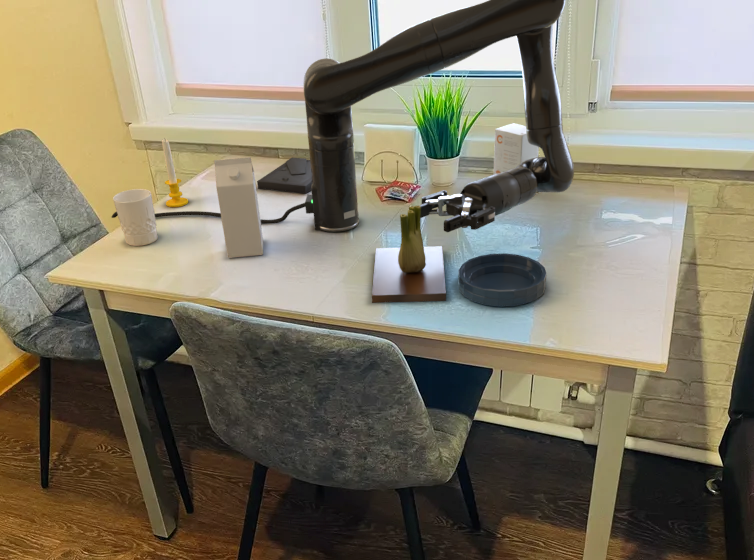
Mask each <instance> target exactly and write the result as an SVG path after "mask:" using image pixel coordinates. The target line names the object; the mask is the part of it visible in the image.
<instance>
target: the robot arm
mask: <svg viewBox="0 0 754 560" xmlns="http://www.w3.org/2000/svg"><path fill="white" fill-rule="evenodd" d="M565 5H566V0H486V1H483V2H480V3H477V4H474V5H471V6H466V7H462V8H458V9H455V10H452V11H450V12H446V13H443V14H440V15H437V16H434V17H431V18H430V19H429V18H428V19H426V20H424V21H421V22H419V23H416V24H414V25H411V26H409V27H407V28H405V29H404V30H402V31H400V32H399V33H396V34H395V35H394V36H392V37H391V38H390V39H388V40H386V41H384V42H383V43H382V44H380V45H379V46H377V47H376V48H374V49H373V50H371V51H369V52H367V53H365V54H363V55H360V56H358V57H355V58H351V59H349V60H346V61H342V62H339V61H337V60H335V59H333V58H320V59H318V60H315V61H314V62H313V63H311V64H310V65H309V66H308V68H307V70H306V71H305V73H304V77H303V81H302V82H303V85H302V87H303V88H302V89H303V90H302V91H303V97H304V105H305V115H306V129H307V130H306V131H307V140H308V151H309V160H310V163H311V174H312V186H311V190H310V192H311V194H307V195H306V198H305V201H304V202H302V203H300V204H297V205H294V206H292V207H290V208H288V209H287V210H286V211H285V212H284V214H283V215H282V216H281V217H279V218H274V219H261V218H260V220H261V225H262V224H263V225H266V224H271V225H272V224H279V223H282V222H284V221H285V220H286V219H287V218H288V217H289V215H290V214H291V213H293V212H295V211H298V210H300V209H304V208H305V214H313V221H314V223H313V225H314V230H316V231H323V232H327V233H328V232H329V233H340V232H346V231H350V230H352V229H354V228H356V227H357V226H359V224H360V218H359V203H358V190H357V188H358V187H357V172H356V157H355V156H356V154H355V138H354V126H353V125H354V124H353V123H354V122H353V113H352V106H354V105H356V104H357V103H359V102H361V101H363V100H365V99H368V98H369V97H371V96H373V95H375V94H377V93H380V92H382V91H385V90H388V89H391V88H395V87H398V86H401V85H404V84H406V83H409V82H412V81H415V80H417V79H420V78H424V77H426V76H429V75H432V74H433V73H437V72H439V71H441V70H444V69H447V68H449V67H451V66H453V65H456V64H458V63H460V62H462V61H464V60H466V59H468V58H470V57H471V56H474V55H475V54H477V53H479V52H481V51H482V50H484V49H486V48H488V47H489V46H491V45H494V44H496V43H499V42H501V41H504V40H506V39H507V40H508V39H510V38H514V37H516V42H517V46H518V52H519V58H520V64H521V75H522V86H523V103H524V104H523V106H524V118H525V126H526V129H527V130H526V133H527V140H528V142H529V143H530V144H531V145H534V146H538V147H539V149H541V150H542V153H543V156H538V157H536V158H531V159H528V160H526V161H524V162H522V163H521V164H520V165H518V166H517V167H516V168H514V169H511V170H508V171H505V172H502V173H499V174H494V173H493V174H494V175H493V174H491V175H488V176H485V177H483V178H480V179H476V180H475V181H472V182H469V183H467V184H466V185H464V187H463V188H462V190H461V191H460V192H459V193H456V194H452V195H448V191H447V190H444V189H443V190H440V191H437V192H434V193H431V194H427V195H425V196H422V197H421V204H420V205H418V206H420V207H421V218H420V219H422V218H424V217H427V216H429V215H438V216H439V217H448V216H449V218H447V219H446V218H445V219H444V221H443V231H444V232H445V233H450V232H453V231H456V230H458V229H461V228H462V229H467V228H468V227H470V230H474V231H475V230H479V229H481V228H483V227H485V226H487V225H489V224H491V223H494V222H495V218H496V216H499V215H501V214H504V213H506V212H508V211H510V210H511V209H513V208H515V207H517V206H519V205H522V204H525V203H527V202H529V201H530V200H532V199H533V198H534V197H535V195H536V194H537V193H557V194H558V193H559V194H560V193H563V192H565V191H567V190H568V189H569V188H570V187H571V185H572V184H573V181H574V177H575V165H574V161H573V158H572V155H571V151H570V149H569V146H568V142H567V139H566V136H565V134H564V129H563V127H564V125H563V111H562V98H561V92H560V87H559V82H558V78H557V72H556V69H555V68H556V67H555V62H554V53H553V32H554V31H553V30H554V24H555V23H556V22H557V21H558V20H559V18H560V17H561V15H562V13H563V11H564V9H565ZM444 207H445V210H444V209H443V208H444ZM178 216H205V217H215V218H221V213H220V212H214V211H202V210H201V211H197V210H195V211H193V210H191V211H190V210H188V211H186V210H185V211H183V210H182V211H167V212H166V211H165V212H158V213H155V218H163V217H178ZM451 216H452V217H451ZM117 217H118V214H117V211H115V212H113V214H112V215H111V219H115V218H117Z"/></svg>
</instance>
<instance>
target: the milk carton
mask: <svg viewBox="0 0 754 560" xmlns="http://www.w3.org/2000/svg"><path fill="white" fill-rule="evenodd" d="M213 162H214V174H215V175H214V176H215V187H216V194H217V200H218V205H219V213H221V217H220V218H221V224H222V230H223V236H224V237H223V238H224V243H225V247H226V248H225V249H226V254H227V255H226V256H227V258H228V259H233V258H242V257H243V258H245V257H254V256H262V255H263V254H264V237H263V227H262V223H261V220H260V219H261V213H260V207H259V206H260V205H259V200H258V198H259V197H258V192H257V184H256V183H257V182H256V177H255V170H254V166H253V162H252V157H251V156H247V157H246V156H245V157H233V158H224V159H214V160H213Z"/></svg>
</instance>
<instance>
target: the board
mask: <svg viewBox="0 0 754 560" xmlns="http://www.w3.org/2000/svg"><path fill="white" fill-rule="evenodd" d="M423 248H424V253H425V258H426V261H425V263H426V266H425V268H424V269H423V270H422V271H420V272H413V273H412V272H411V273H404V272H403V271H402V270H401V269H400V266H399V263H398V256H399V250H400V247H376V248H375V253H374V254H375V255H374V264H373V265H374V266H373V276H372V286H371V287H372V288H371V303H372V304H376V303H377V304H379V303H381V304H382V303H384V304H385V303H415V302H423V303H424V302H446V301H447V288H446V278H445V277H446V275H445V274H446V273H445V262H444V252H443V251H444V250H443V245H437V246H435V245H434V246H423Z"/></svg>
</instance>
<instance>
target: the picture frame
mask: <svg viewBox="0 0 754 560" xmlns="http://www.w3.org/2000/svg"><path fill="white" fill-rule="evenodd" d="M256 183H257V184H256V186H257V189H258V190H267V191H275V192H286V193H296V194H304V195H306V194H308V193H309V192H311V186H312V174H311V163H310V159H307V158H303V157H291V158H289V159H287V160H286V161H285V162H284V163H282V164H281V165H279V166H278V167H276V168H275V169H273V170H272V171H270V172H269V173H267V174H266V175H264V176H263V177H261V178H260V179H258V180H256Z"/></svg>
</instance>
